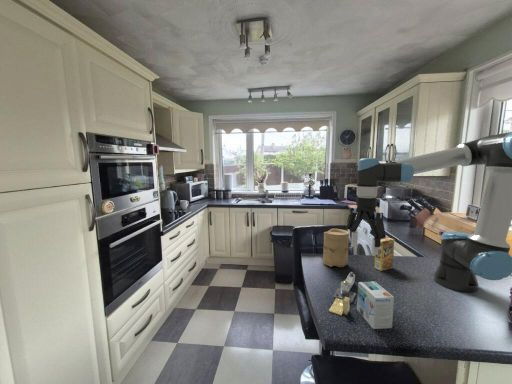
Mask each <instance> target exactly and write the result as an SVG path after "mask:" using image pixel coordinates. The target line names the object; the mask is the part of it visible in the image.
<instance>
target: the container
mask: <svg viewBox="0 0 512 384" xmlns="http://www.w3.org/2000/svg"><path fill="white" fill-rule="evenodd" d="M349 237H350V232H349V231H348V230H346V229H341V228H331V229H329V230H327V231H324V232H323V255H322V256H323V257H322V259H323V260H322V263H323V265H325V266H329V267H330V268H332V267H334V266H335V267H338V268H344V267H346V266H347V265H348V263H349V243H350V239H349Z"/></svg>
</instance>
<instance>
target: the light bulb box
mask: <svg viewBox="0 0 512 384" xmlns="http://www.w3.org/2000/svg"><path fill="white" fill-rule="evenodd" d="M356 301H357V303H356V311H358V312H359V314H360V315H361V316H362V317H363V319H364V320H365V321H366V322H367V324H368V325H369V326H370V327H371V328H372V329H374V330H378V329H379V330H380V329H392V328H393V320H394V319H393V316H394V305H395V304H394V303H395V296H394V295H392V294H391V293H390V292H389V291H387V290H386V289H385V288H383V286H382V285H380V284H379V283H377V282H376V280H375V281H359V282H358V283H357V300H356Z"/></svg>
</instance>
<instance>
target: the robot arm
mask: <svg viewBox="0 0 512 384" xmlns="http://www.w3.org/2000/svg"><path fill="white" fill-rule="evenodd" d="M357 162H358V165H357V175H356V177H357V178H356V181H357V183H356V196H357V197H356V200H355V204H356V207H350V214H349V218H348V222H347V225H346V229H347V230H349V231H350V239H351V242H350V246H351V248H356V247H358V234H359V233H358V228H359V226H360V224H361V223H362V221H363V220H365V221H367V223H368V224H369V227H370V230H371V232H372V235H373V238H371V239H372V241H371V242H372V243H371V255H372V256H375V255H377V254H378V247H380V240H381V239H383V238H387V237H386V236H387V235H386V231H385V225H384V219H383V218H384V213H383V212H379V211H377V210H376V208H377V204H378V203H377V202H378V198H377V196H378V187H379V183H400V184H401V183H410V182H411V181H412V180H413V178H414V176H415V175H417V174H421V173H427V172H432V171H436V170H438V171H439V170H441V169H446V168H452V167H457V166H461V167H468V166H474V165H475V166H476V165H477V166H478V165H485V167H484V168H485V169H486V170H487V171H488V172H489V174H488V179H487V182H486V186H485V189H484V194H483V197H482V201H481V204H480V208H479V212H478V216H477V221H476V222H475V223H476V224H475V227H474V231H473V233H468V232H467V233H466V232H457V231H456V232H455V231H445V232H443V233H442V235H441V238H440V241H441V242H440V252H439V254H440V255H439V264H438V265H437V267H436V268H435V270H434V272H433V280H434V282H436V283H437V284H439V285H441V286H442V287H445V288H447V289H452V290H454V291H458V292H466V293H474V292H478V290H479V281H478V278H477V277H480V278H482V279H484V280H489V281H500V280H503V279H505V278H508V277H509V276H511V275H512V255H510V249H511V245H510V244H509V243H508V242H507V237H508V234H509V230H510V226H511V223H512V131H510V132H505V133H497V134H491V135H487V136H483V137H480V138H478V139H477V138H476V139H474V140H471V141H468V142H467V141H466V142H464V143H460V144H457V145H456V147H452V148H448V149H442V150H438V151H434V152H429V153H425V154H420V155H416V156H411V157H407V158H402V159H398V160H393V161H389V162H384V163H381V162H380V159H379V158H377V157H375V158H374V157H371V158H370V157H365V158H360V159H359V160H358V161H357Z"/></svg>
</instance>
